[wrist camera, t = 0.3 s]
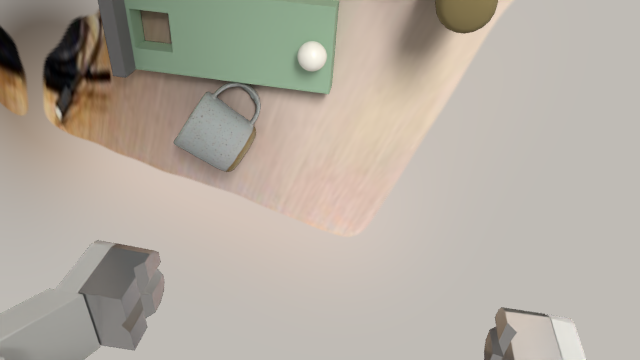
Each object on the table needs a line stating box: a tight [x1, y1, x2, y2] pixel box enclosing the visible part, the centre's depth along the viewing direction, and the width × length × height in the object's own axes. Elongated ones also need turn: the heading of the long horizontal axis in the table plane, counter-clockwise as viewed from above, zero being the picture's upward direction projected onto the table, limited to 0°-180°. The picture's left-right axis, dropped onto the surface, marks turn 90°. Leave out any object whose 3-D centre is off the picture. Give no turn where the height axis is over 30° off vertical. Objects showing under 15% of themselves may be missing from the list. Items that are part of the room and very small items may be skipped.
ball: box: [297, 41, 327, 71], centre depth 53 cm, size 3×3×3 cm
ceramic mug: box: [174, 82, 261, 172], centre depth 60 cm, size 11×8×8 cm
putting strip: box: [98, 0, 339, 94], centre depth 55 cm, size 10×26×5 cm, turn 87°
